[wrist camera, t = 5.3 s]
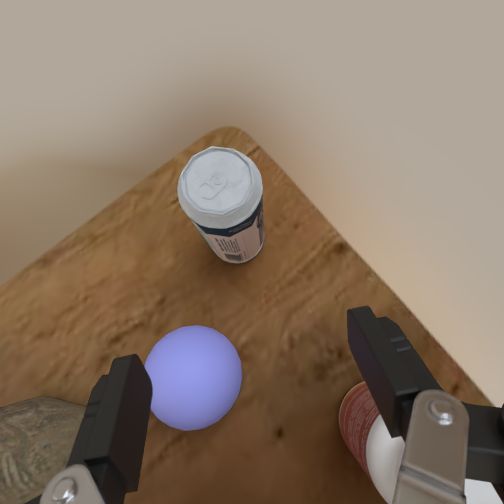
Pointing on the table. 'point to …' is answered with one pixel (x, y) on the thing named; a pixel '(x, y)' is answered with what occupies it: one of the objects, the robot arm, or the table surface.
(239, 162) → the beer can
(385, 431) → the pill bottle
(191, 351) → the sphere
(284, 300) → the table surface
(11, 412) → the stone
